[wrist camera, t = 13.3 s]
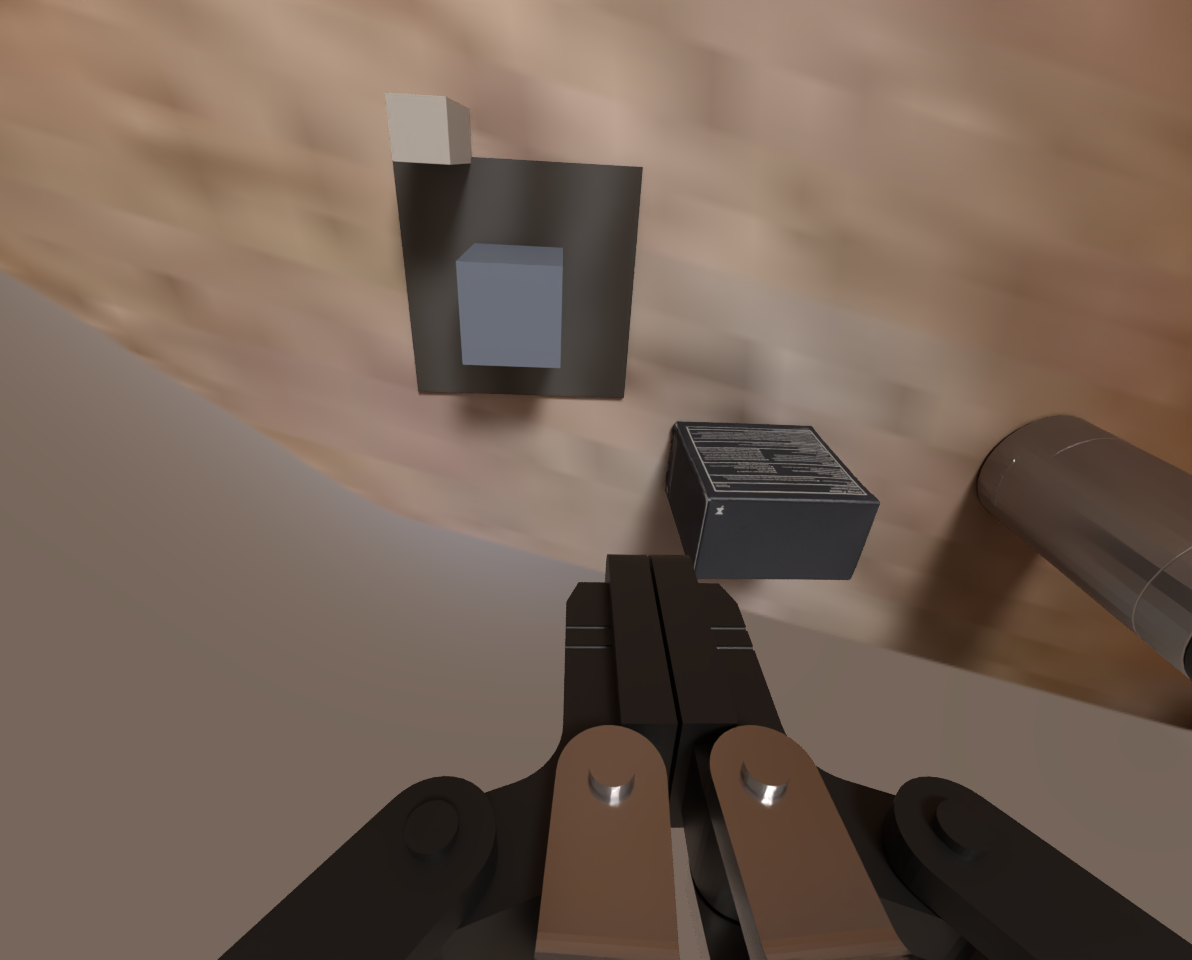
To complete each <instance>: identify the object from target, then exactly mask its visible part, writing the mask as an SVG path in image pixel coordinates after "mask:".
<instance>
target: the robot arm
mask: <svg viewBox="0 0 1192 960" xmlns="http://www.w3.org/2000/svg"><path fill="white" fill-rule="evenodd" d="M977 491H978V496H979V499H980V501H981V503H982V505H983V506H984V507H985V508H986V509H987V510H988V511H989V512H990V513H991V514H993V515H994V516H995V517H996V518H997V519H999V520H1000V521H1001V522H1002V523H1003V524H1005V525H1006V526H1007V527H1008V528H1009V529H1010V530H1012V531H1013V532H1014V533H1015V534H1016V535H1018V536H1019V537H1020V538H1021V539H1022V540H1023V541H1024V542H1026V543H1027V544H1028V545H1029V546H1030V547H1032V548H1033V549H1034V550H1035V551H1036V552H1038V553H1039V554H1040V555H1041V556H1042V557H1044V558H1045V559H1046V560H1047V561H1048V562H1050V563H1051V564H1052V565H1053V566H1054V567H1056V568H1057V569H1058V570H1059V571H1060V572H1062V573H1063V574H1064V575H1065V576H1066V577H1068V578H1069V579H1070V580H1071V581H1072V582H1074V583H1075V584H1076V585H1077V586H1078V587H1080V588H1081V589H1082V590H1083V591H1084V592H1086V593H1087V594H1088V595H1089V596H1090V597H1092V598H1093V599H1094V600H1095V601H1096V602H1097V603H1099V604H1100V605H1101V606H1102V607H1103V608H1105V609H1106V610H1107V611H1108V612H1109V613H1111V614H1112V615H1113V616H1114V617H1115V618H1117V619H1118V620H1119V621H1120V622H1121V623H1123V624H1124V625H1125V626H1126V627H1127V628H1129V629H1130V630H1131V631H1132V632H1133V633H1135V634H1136V635H1137V636H1138V637H1139V638H1141V639H1142V640H1143V641H1145V642H1146V643H1147V644H1148V645H1149V646H1151V647H1152V648H1153V649H1154V650H1155V651H1157V652H1158V653H1159V654H1160V655H1161V656H1163V657H1164V658H1165V659H1166V660H1167V661H1169V662H1170V663H1171V664H1172V665H1173V666H1175V667H1176V668H1177V669H1178V670H1179V671H1181V672H1182V673H1183V674H1184V675H1185V676H1187V677H1188V678H1189V679H1190V680H1191V681H1192V475H1191V474H1189V473H1187V472H1185V471H1183V470H1181V469H1179V468H1177V467H1175V466H1173V465H1171V464H1169V463H1167V462H1165V461H1163V460H1161V459H1160V458H1158V457H1156V456H1154V455H1152V454H1150V453H1148V452H1146V451H1144V450H1142V449H1140V448H1138V447H1136V446H1134V445H1132V444H1130V443H1129V442H1127V441H1125V440H1123V439H1121V438H1119V437H1117V436H1115V435H1113V434H1111V433H1109V432H1107V431H1105V430H1103V429H1101V428H1099V427H1097V426H1095V425H1093V424H1091V423H1089V422H1087V421H1085V420H1083V419H1080V418H1077V417H1073V416H1060V415H1059V416H1053V417H1046V418H1043V419H1040V420H1037V421H1034V422H1031V423H1029V424H1028V425H1026V426H1024V427H1022V428H1020V429H1018V430H1017V431H1015V432H1014V433H1012V434H1011V435H1009V436H1008V437H1007V438H1006V439H1004V440H1003V441H1002V442H1001V443H1000V444H999V445H998V446H997V447H996V448H995V449H994V451H993V452H992V453H991V454H990V455H989V457H988V458H987V460H986V462H985V463H984V465H983V467H982V469H981V472H980V475H979V478H978V486H977ZM745 627H746V626H745V624H744V621H743V618H742V615H741V612H740V610H739V607H738V604H737V603H736V602H735V600H734V599H733V598H732V597H731V596H730V595H729V594H728V593H727V592H726V591H725V590H724V589H723V588H722V587H721V586H720V585H719V584H709V583H698V581H697V578H696V574H695V571H694V567H693V564H692V561H691V558H690V556H689V555H649V556H648V557H647V555H612V554H607V559H606V574H605V583H600V582H599V583H598V582H597V583H596V582H579V583H578V584H577V586H576V587H575V589H574V591H573V592H572V594H571V596H570V597H569V599H568V600H567V603H566V639H565V678H564V716H563V733H562V737H561V740H560V743H559V745H558V747H557V749H556V751H555V753H554V754H553V755H552V757H551V758H550V760H549V761H548V762H547V763H546V764H545V765H544V766H543V767H542V768H541V769H539V770H538V771H537V772H535V773H534V774H532V775H530V776H529V777H527V778H525V779H522V780H520V781H518V782H515V783H512V784H509V785H506V786H503V787H501V788H498V789H494V790H492V791H489V792H486V793H484V792H483V791H482V790H481V789H480V788H479V787H477V786H476V785H474V784H473V783H471V782H469V781H467V780H465V779H462V778H457V777H450V776H442V777H433V778H430V779H426V780H423V781H420V782H418V783H416V784H414V785H412V786H410V787H408V788H407V789H405V790H404V791H402V792H401V793H400V794H399V795H397V796H396V797H395V798H394V799H393V800H392V801H391V802H389V803H388V804H387V805H386V806H385V807H384V808H383V809H382V810H381V811H379V812H378V813H377V814H376V815H375V816H374V817H373V818H372V819H371V820H370V821H369V822H368V823H366V824H365V825H364V826H363V827H362V828H361V829H360V830H359V831H358V832H357V833H355V834H354V835H353V836H352V837H351V838H350V839H349V840H348V841H347V842H346V843H344V844H343V845H342V846H341V847H340V848H339V849H338V850H337V851H336V852H335V853H334V854H333V855H331V856H330V857H329V858H328V859H327V860H326V861H325V862H324V863H323V864H322V865H321V866H319V867H318V868H317V869H316V870H315V871H314V872H313V873H312V874H311V875H309V876H308V878H306V879H305V880H304V881H303V882H302V883H301V884H300V885H299V886H298V887H296V888H295V889H294V890H293V891H292V892H291V893H290V894H289V895H288V896H286V898H285V899H283V900H282V901H281V902H280V903H279V904H278V905H277V906H276V907H274V909H272V910H271V911H270V912H269V913H268V914H267V915H266V916H265V917H264V918H262V919H261V921H259V922H258V923H257V924H256V925H255V926H254V927H253V928H252V929H250V931H248V932H247V933H246V934H245V935H244V936H243V937H242V938H241V939H240V940H238V942H236V943H235V944H234V945H233V946H232V947H231V948H230V949H229V950H227V951H226V952H225V953H224V954H223V955H222V956H221V957H220V958H219V959H218V960H680V955H679V944H678V930H677V914H676V900H675V885H674V870H673V855H672V841H671V827H672V828H676V827H677V828H678V827H679V828H680V827H684V832H685V838H686V844H687V850H688V862H687V867H686V872H685V885H686V892H687V897H688V902H689V906H690V911H691V916H692V920H693V925H694V929H695V934H696V939H697V943H698V948H699V953H700V957H701V960H1192V944H1190V943H1189V942H1187V941H1186V940H1185V939H1183V938H1182V937H1180V936H1179V935H1177V934H1176V933H1175V932H1173V931H1172V930H1170V929H1169V928H1167V927H1166V926H1165V925H1163V924H1162V923H1160V922H1159V921H1158V920H1156V919H1155V918H1153V917H1152V916H1151V915H1149V914H1148V913H1146V912H1145V911H1143V910H1142V909H1141V908H1139V907H1138V906H1136V905H1135V904H1133V903H1132V902H1131V901H1129V900H1128V899H1126V898H1125V897H1124V896H1122V895H1121V894H1119V893H1118V892H1116V891H1115V890H1114V889H1112V888H1111V887H1109V886H1108V885H1106V884H1105V883H1104V882H1102V881H1101V880H1099V879H1098V878H1097V877H1095V876H1093V875H1092V874H1091V873H1089V872H1088V871H1087V870H1085V869H1084V868H1082V867H1081V866H1079V865H1078V864H1077V863H1075V862H1074V861H1072V860H1071V859H1070V858H1068V857H1066V856H1065V855H1064V854H1062V853H1061V852H1059V851H1058V850H1057V849H1055V848H1054V847H1052V846H1051V845H1050V844H1048V843H1047V842H1045V841H1044V840H1042V839H1041V838H1040V837H1038V836H1037V835H1035V834H1034V833H1032V832H1031V831H1030V830H1028V829H1027V828H1025V827H1024V826H1022V825H1021V824H1020V823H1018V822H1017V821H1015V820H1014V819H1013V818H1011V817H1010V816H1008V815H1007V814H1006V813H1004V812H1003V811H1001V810H1000V809H998V808H997V807H996V806H994V805H993V804H991V803H990V802H988V801H987V800H986V799H984V798H983V797H981V796H980V795H978V794H977V793H975V792H973V791H972V790H970V789H968V788H966V787H964V786H962V785H960V784H958V783H955V782H952V781H950V780H946V779H942V778H938V777H918V778H915V779H911V780H909V781H908V782H906V783H905V784H904V785H902V786H901V788H900V789H899V791H898V792H897V794H896V795H892V794H889V793H886V792H882V791H879V790H876V789H873V788H869V787H866V786H863V785H860V784H856V783H853V782H850V781H846V780H843V779H841V778H838V777H835V776H833V775H831V774H829V773H827V772H825V771H823V770H822V769H820V768H819V767H817V766H816V765H815V764H814V762H813V760H812V759H811V758H810V756H809V755H808V754H807V752H805V750H804V749H803V748H802V747H801V746H800V745H799V744H797V743H796V742H794V741H793V740H792V739H791V738H789V737H787V735H786V734H785V732H784V729H783V727H782V725H781V722H780V719H779V717H778V714H777V711H776V709H775V705H774V703H773V700H772V697H771V695H770V692H769V689H768V686H767V684H766V681H765V678H764V676H763V673H762V670H761V667H760V665H759V662H758V659H757V657H756V653H755V651H753V648H752V646H753V645H752V643H751V640H750V637H749V634H748V632H747V631H746V629H745Z"/></svg>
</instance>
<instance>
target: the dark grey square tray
mask: <svg viewBox="0 0 1192 960" xmlns="http://www.w3.org/2000/svg"><path fill="white" fill-rule="evenodd" d="M393 166H394V175H395V184H396V193H397V202H398V211H399V220H400V229H401V238H402V247H403V256H404V265H405V274H406V283H407V292H408V301H409V310H410V319H411V328H412V337H413V346H414V355H415V364H416V373H417V382H418V391H425V392H457V393H490V394H522V395H554V396H587V397H619V398H624V389H625V377H626V365H627V353H628V340H629V328H630V316H631V304H632V291H633V279H634V267H635V255H636V243H637V230H638V218H639V206H640V194H641V181H642V169H643V167H629V166H612V165H596V164H579V163H562V162H545V161H528V160H512V159H495V158H478V157H471V163H467V164H452V165H448V164H431V163H414V162H397V161H393ZM474 243H481V244H500V245H519V246H539V247H558V248H563V277H562V319H561V361H560V368H541V367H514V366H487V365H463V363H462V348H461V333H460V317H459V302H458V287H457V271H456V261H457V260H458V259H459V258H460V257H461V256H462V255H463V254H464V253H465V252H466V251H467V250H468V249H469V248H470V247H471V246H472V245H473V244H474Z"/></svg>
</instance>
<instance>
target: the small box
mask: <svg viewBox="0 0 1192 960" xmlns="http://www.w3.org/2000/svg"><path fill="white" fill-rule="evenodd" d="M672 432H673V433H672V434H673V439H672V441H671V443H672V446H671V452H670V460H669V466H668V471H667V473H666V488H665V492H666V494H667V497H668V500H669V503H670V507H671V510H672V513H673V517H674V520H675V523H676V526H677V529H678V533H679V535H680V539H681V542H682V545H683V548H684V552H685V555H689V556H690V558H691V561H692V564H693V567H694V571H695V574H696V578H697V579H813V580H850V579H851V577H852V575H853V573H854V571H855V568H856V566H857V563H858V561H859V558H860V555H861V553H862V550H863V547H864V545H865V542H866V539H867V537H868V534H869V532H870V529H871V526H872V524H873V521H874V518H875V516H876V513H877V510H878V507H879V505H880V502H879V500H878V499H877V498H876V497H875V496H874V495H873V494H871V493H870V492H869V491H868V490H867V489H866V488H865V487H864V486H863V485H862V484H861V483H860V482H859V481H858V479H857V478H856V477H855V476H854V475H853V474H852V473H851V472H850V470H849V469H848V468H847V467H846V466H845V465H844V464H843V462H842V461H841V460H840V459H839V458H838V457H837V456H836V455H835V453H834V452H833V451H832V450H831V449H830V448H829V446H828V445H827V444H826V443H825V442H824V441H823V440H822V439H821V437H820V436H819V435H818V434H817V432H816V431H815V430H814V428H813V427H812V426H795V425H769V424H739V423H709V422H676V423H675V424H674V426H673V431H672Z"/></svg>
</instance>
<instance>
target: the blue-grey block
mask: <svg viewBox="0 0 1192 960" xmlns="http://www.w3.org/2000/svg"><path fill="white" fill-rule="evenodd" d="M456 271H457V287H458V302H459V317H460V333H461V348H462V363H463V365H487V366H514V367H541V368H560V361H561V319H562V277H563V248H558V247H539V246H519V245H500V244H481V243H474V244H473V245H472V246H471V247H470V248H469V249H468V250H467V251H466V252H465V253H464V254H463V255H462V256H461V257H460V258H459V259H458V260H457V261H456Z"/></svg>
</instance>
